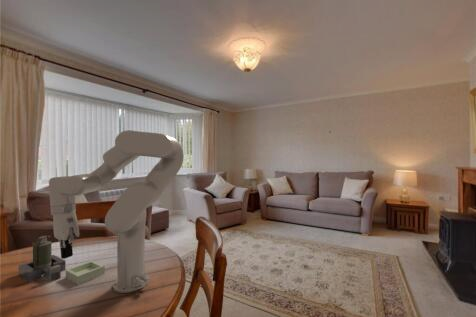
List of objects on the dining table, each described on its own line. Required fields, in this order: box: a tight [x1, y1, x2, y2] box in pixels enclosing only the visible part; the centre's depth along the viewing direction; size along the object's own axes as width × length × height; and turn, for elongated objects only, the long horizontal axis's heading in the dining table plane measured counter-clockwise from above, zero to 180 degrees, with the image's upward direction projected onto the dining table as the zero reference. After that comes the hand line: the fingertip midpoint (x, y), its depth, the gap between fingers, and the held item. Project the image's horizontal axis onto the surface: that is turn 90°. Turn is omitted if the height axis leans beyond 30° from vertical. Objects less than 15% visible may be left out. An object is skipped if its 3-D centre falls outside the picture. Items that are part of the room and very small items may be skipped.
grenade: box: [31, 235, 52, 276], centre depth 97 cm, size 6×6×15 cm
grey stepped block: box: [42, 265, 62, 283], centre depth 92 cm, size 8×4×5 cm, turn 58°
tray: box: [65, 260, 106, 286], centre depth 94 cm, size 10×10×3 cm
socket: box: [18, 254, 66, 284], centre depth 97 cm, size 12×12×4 cm
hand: (67, 256), depth 87 cm, fingers closed
